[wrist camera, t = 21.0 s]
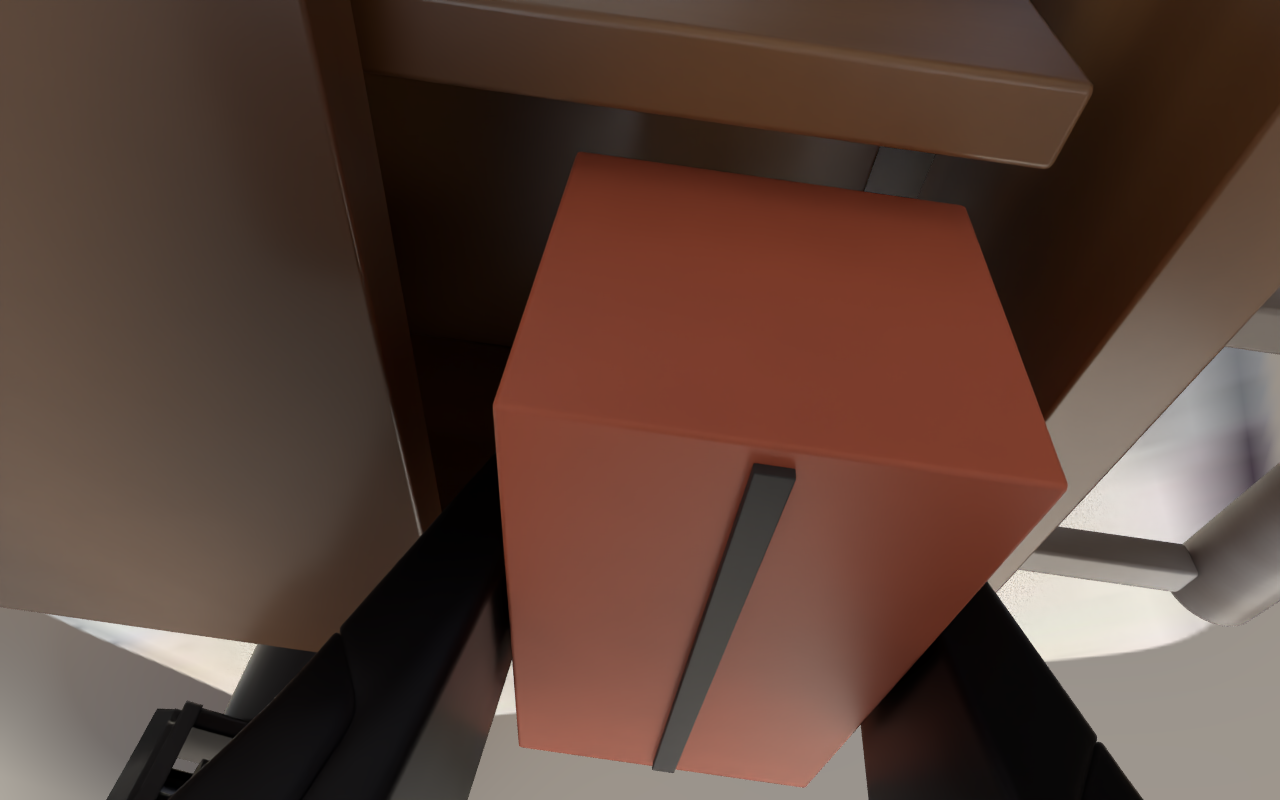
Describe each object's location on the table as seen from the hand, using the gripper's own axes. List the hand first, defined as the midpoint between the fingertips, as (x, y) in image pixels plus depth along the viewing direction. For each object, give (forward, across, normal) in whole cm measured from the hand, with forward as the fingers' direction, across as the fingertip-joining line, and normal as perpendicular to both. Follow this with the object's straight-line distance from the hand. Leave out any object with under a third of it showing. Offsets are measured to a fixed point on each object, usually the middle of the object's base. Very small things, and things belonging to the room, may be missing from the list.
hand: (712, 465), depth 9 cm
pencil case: (+1, 0, 0) cm, 1 cm away
